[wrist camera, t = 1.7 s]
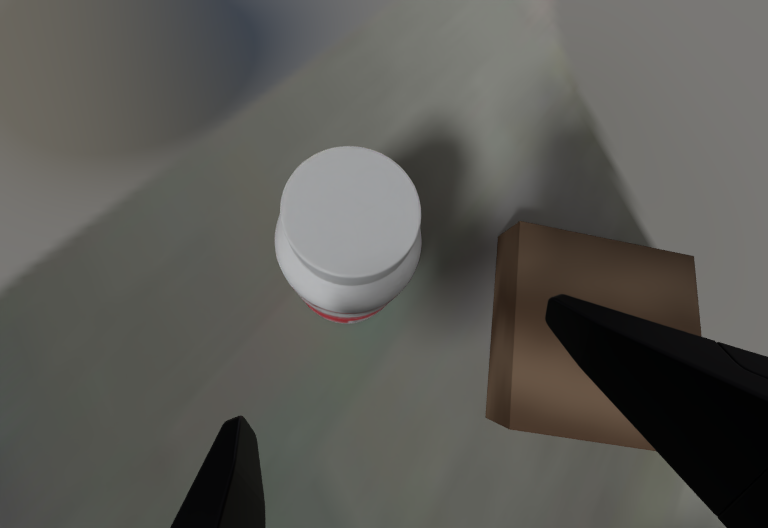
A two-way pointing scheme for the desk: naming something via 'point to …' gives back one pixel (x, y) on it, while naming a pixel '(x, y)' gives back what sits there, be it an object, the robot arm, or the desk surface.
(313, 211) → the pill bottle
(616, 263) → the walnut plinth
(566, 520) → the desk surface
